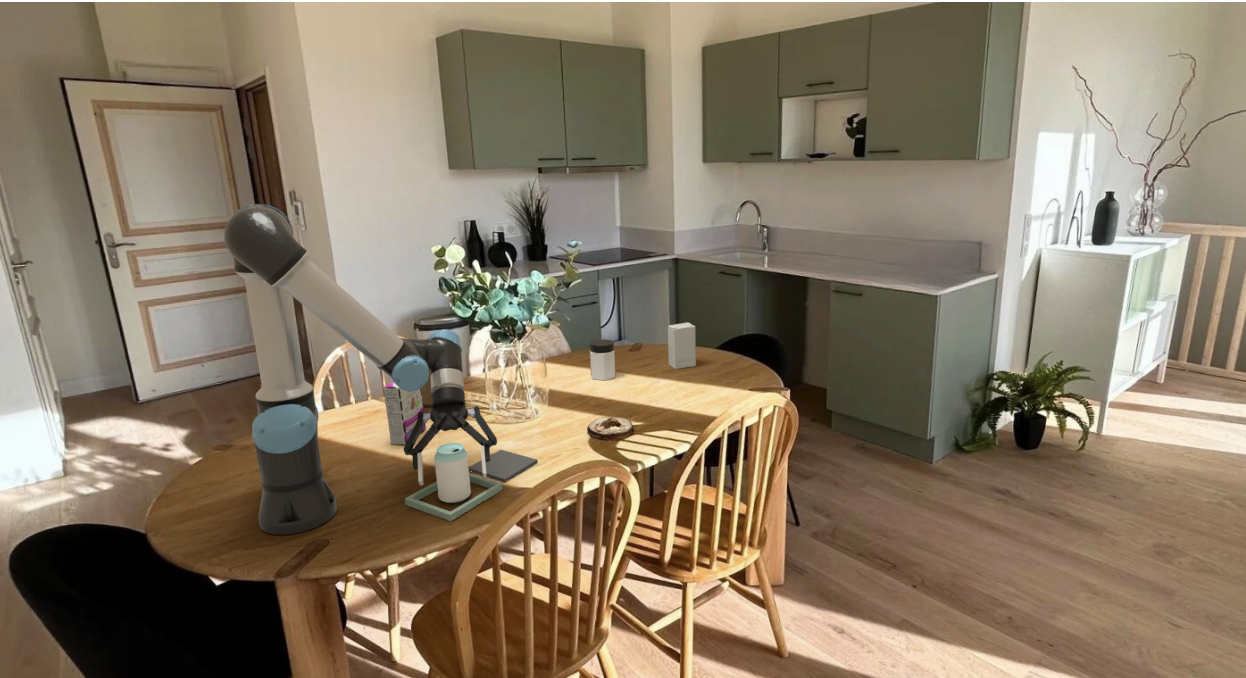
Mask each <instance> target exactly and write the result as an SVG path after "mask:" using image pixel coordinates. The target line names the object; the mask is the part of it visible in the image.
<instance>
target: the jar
mask: <svg viewBox="0 0 1246 678" xmlns="http://www.w3.org/2000/svg"><path fill="white" fill-rule="evenodd" d="M615 357H616V356H615V342H614V341H613V340H611V339H608V338H607V339H605V338H604V339H601V338H600V339H595V340H591V341H590V342H589V360H590V361H589V363H590V366H589V367H590V376H591V379H592V380H597V381H607V380H611V379H615V378H616V363H615V359H616V358H615Z"/></svg>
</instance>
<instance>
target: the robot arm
mask: <svg viewBox="0 0 1246 678" xmlns="http://www.w3.org/2000/svg"><path fill="white" fill-rule="evenodd" d="M223 239H224V243H225V246H226V249H227V251H228V252H229V253H230V255H232V260H233V261H232V262H233V266H234V272H235V274H237V275H238V276H239V277H241V278H242V279H244V281H245V282H244V283H245V287H246V288H245V289H246V295H247V300H248V307H249V314H250V319H251V327H252V332H253V340H254V345H255V352H256V358H257V364H258V371H259V375H260V376H259V377H260V383H261V388H259V390H258V391H257V392H256V393H255V401H256V408H257V413H258V414H257V416H256V417H255V418H254V420H253V422H252V425H251V427H252V429H251V430H252V432H251V436H252V437H251V439H252V440H253V443H254V447H255V452H256V458H257V464H258V469H259V476H260V481H261V486H262V493H261V499H260V502H259V503H260V505H259V510H258V515H257V516H258V517H257V518H258V524H259V528H260V530H262V532H265V533H267V534H270V535H276V536H279V535H281V536H283V535H284V536H285V535H293V534H299V533H302V532H303V533H304V532H306V531H307V532H308V531H309V530H312V529H315V528H318V527H320V526H321V525H324V524H325V523H326V522H329V520H331V519H333V517H334V516H335V514H336V512H337V509H338V504H337V499H336V497H335V495H334V493H333V491H332V490H331V488H330V486H329V485H328V483H327V481H326V479H325V477H324V471H323V467H322V460H321V453H320V448H319V447H320V446H319V433H318V432H319V426H318V424H319V410H318V407H317V404H316V401H315V392H314V386H313V385H312V384H311V383H309V382H308V381H306V379H305V373H304V367H303V361H302V355H301V353H302V352H301V347H300V346H301V345H300V340H299V339H300V338H299V333H298V325H297V317H296V309H295V305H294V304H295V303H294V299H295V300H296V301H298V302H299V303H300V304H301V305H303V306H304V307H305V308H306V309H308V310H309V311H310V312H311V313H313V314H314V315H315V316H316V317H317V318H319V319H320V320H321V321H323V323H325V324H326V325H327V326H328V327H329V328H331V329H332V330H333V331H334V332H336V333H337V334H338V335H339V336H340V337H342V338H343V339H344V340H345V341H347V343H349V344H351V345H352V346H353V347H354V348H356V349H357V350H358V351H359V352H360V353H361V354H363V355H364V356H365V357H366V358H368V360H370V361H371V362H372V363H374V364H375V365H376V367H377V369H378V370H381V371H383V372H384V373H385V374H387V376H389V377H390V378H391V379H392V381H394V383H395V384H396V385H397V386H398V387H399V388H400V389H402V390H405V391H416V390H418V389H420V388H422V387H423V386H424V385H425V384H426V382H427V381H428V378H429V371H430V375H431V377H430V378H431V392H432V395H431V397H432V412H431V414H423V412H419V413H418V418H417V422H416V424H415V426H414V428H413V430H412V432H411V434H410V436H409V438H408V440H407V442H406V444H405V445H403V453H404V455H406V456H411V458H412V459H411V460H412V468H413V470H414V471H417V473H418V474H417V475H418V476H417V477H418V479H417V481H418V484H419V486H424V463H423V455H422V452H423V451H424V450H425V449H426V448H427V446H428V445H429V444H430V442H431V441H432V439H433V438H434V437H435V436H436V435H437V434H438V433H439V432H440V431H443V432H448V431H450V430H451V431H457V430H459V429H460V428H461V430H463V431H464V432H466V433H467V434H468V435H469V436H470V437H471V438H472V439H474V440H475V441H476V443H478V444H479V445H480V457H481V460H482V470H483V475H482V478H485V479H486V478H488V477H487V475H486V463H485V462H489V461H490V455H491V450H490V449H491V447H494V446H496V445H497V444H498V439H497V436H496V434H495V433H494V432H493V430H492V429H491V427H490V426H489V424H488V423H487V422H486V420H485V419H484V417H483V415H482V414H481V410H480V406H478V405H476V406H474V407H473V408H470V409H467V407H466V397H465V391H464V390H465V384H464V383H465V382H464V371H463V369H464V368H463V356H462V353H463V349H462V345H461V343H462V342H461V338H460V336H459V334H458V333H457V332H456V331H454V330H450V329H440V330H438V329H437V330H434V331H432V332H431V333H430V335H429V336H428V338H429V339H428V338H426V339H421V338H420V339H419V338H403V337H402V338H401V337H399V336H398V335H397V334H396V333H395V332H394V331H392V330H391V329H390V328H389V327H387V325H385V324H384V323H383V322H382V321H381V320H380V319H379V318H377V316H375V315H374V314H373V313H371V311H370V310H368V309H367V308H366V307H365V306H363V305H362V304H361V303H360V302H359V301H358V300H357V299H356V298H354V297H353V296H352V295H351V294H350V293H348V291H346V290H345V289H344V288H343V287H342V286H340V285H339V284H338V283H337V282H336V281H334V280H333V279H332V278H331V277H330V276H329V275H328V274H327V273H325V272H324V271H323V270H321V268H320V267H318V266H317V265H316V264H315V263H314V262H313V261H311V259H309V257H310V256H309V251H308V250H307V249H306V248H304V247H303V246H302V245H301V244H300V243H299V241H297V240H296V239H295V237H294V230H293V225H292V224H291V221H290V219H289V218H288V217H287V215H285V213H284V212H282V211H281V210H279V209H278V208H276V207H273V206H271V205H267V204H258V203H256V204H249V205H248V204H247V205H246V206H244V207H242V208H240V209H239V210H237V211H236V212H235V213H234V214H233V215H232V216H231V217H230V218H229V219H228V221H227V223H226V224H225V227H224V232H223ZM468 416H470V417H471V418H472V419H475V421H476V423H477V424H478V426H479V427H480V429H481V430H482V432H483V433H484V435H485V436H483V434H481V433H480V432H479V431H478V430H476V428H474V426H472V425H471V424H470V423H469V422H468V421H467V420H466V419H468ZM428 420H430V421H432V424H431V425H430V427H429V428H428V430H427V431H426V432H425V434H424V435H423V436H422V437H421V438H420V437H419V436H420V435H421V434H422V433H421V431H422V429H423V426H424V423H425V424H427V423H428ZM420 433H421V434H420ZM419 438H420V439H419ZM418 439H419V440H418ZM417 441H418V442H417Z"/></svg>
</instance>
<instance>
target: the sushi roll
mask: <svg viewBox="0 0 1246 678" xmlns="http://www.w3.org/2000/svg"><path fill="white" fill-rule="evenodd" d="M633 427H634V425H633V423H632V421H631V420H630V419H628V418H625V417H617V416H603V417H598V418H596V419H594V420H593V421H591V422H590V423H589V424H588V426H587V428H586V431H587V434H588V435H589V437H591V438H594V439H597V440H599V441H602V440H605V441H608V443H611V442H615V441H620V440H623V439H625V438H627V437H629V436H631V435H633V432H632V430H633Z"/></svg>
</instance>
